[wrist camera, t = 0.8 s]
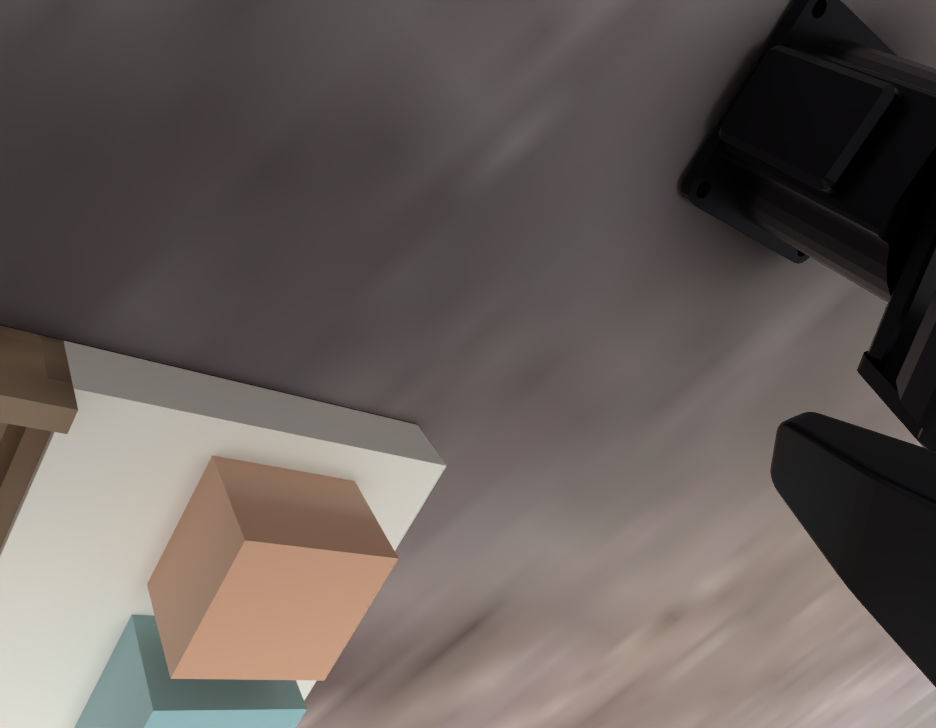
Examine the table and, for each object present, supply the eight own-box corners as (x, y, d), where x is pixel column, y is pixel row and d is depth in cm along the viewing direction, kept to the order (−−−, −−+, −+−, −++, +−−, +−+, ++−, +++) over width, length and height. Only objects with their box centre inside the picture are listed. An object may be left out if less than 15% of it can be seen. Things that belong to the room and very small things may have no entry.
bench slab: (417, 425, 26) (446, 465, 24) (260, 694, 29) (277, 745, 28) (63, 340, 20) (73, 388, 18) (-88, 694, 23) (-90, 760, 21)
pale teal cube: (273, 622, 25) (306, 708, 22) (215, 724, 26) (241, 816, 23) (131, 614, 22) (153, 711, 20) (74, 727, 23) (88, 830, 21)
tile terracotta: (354, 480, 23) (398, 558, 21) (289, 595, 24) (324, 680, 22) (212, 455, 21) (245, 540, 18) (146, 584, 22) (170, 678, 20)
